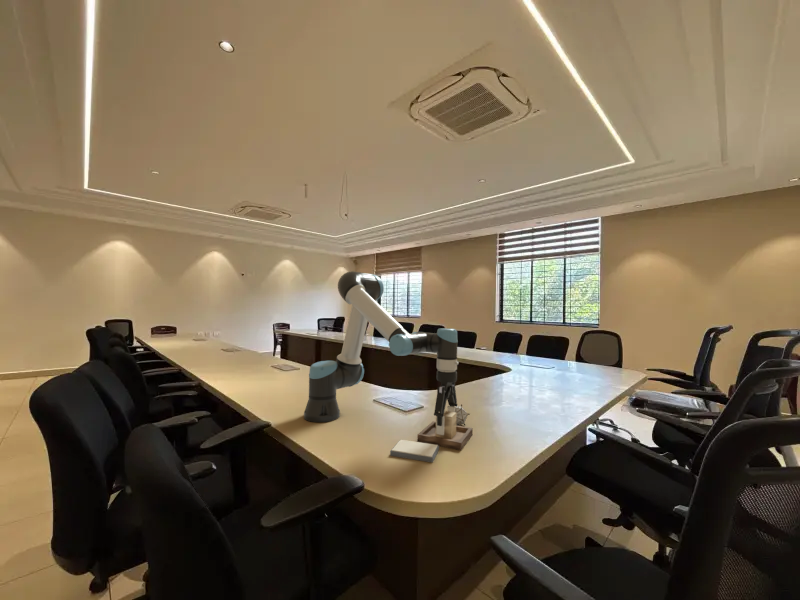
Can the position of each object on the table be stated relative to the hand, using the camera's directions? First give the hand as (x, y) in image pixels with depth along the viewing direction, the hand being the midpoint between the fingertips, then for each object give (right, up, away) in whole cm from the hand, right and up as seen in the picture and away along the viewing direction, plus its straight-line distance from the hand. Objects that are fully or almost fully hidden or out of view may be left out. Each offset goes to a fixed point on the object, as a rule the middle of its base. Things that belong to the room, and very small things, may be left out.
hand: (445, 428), depth 124 cm
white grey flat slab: (-12, -3, -13) cm, 18 cm away
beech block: (0, -2, 0) cm, 2 cm away
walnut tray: (0, -3, 0) cm, 3 cm away
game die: (+7, -4, +14) cm, 16 cm away
